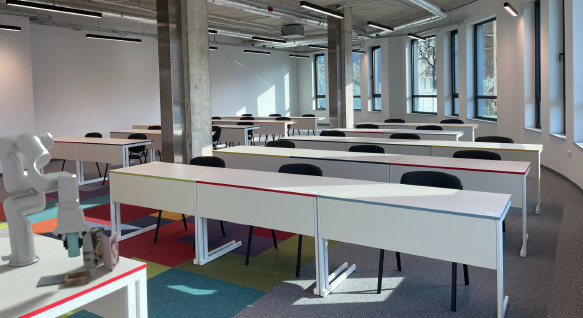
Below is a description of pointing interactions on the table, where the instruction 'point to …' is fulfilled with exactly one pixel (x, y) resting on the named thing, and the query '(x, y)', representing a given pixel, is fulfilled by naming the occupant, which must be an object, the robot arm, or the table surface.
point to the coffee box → (93, 247)
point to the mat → (51, 280)
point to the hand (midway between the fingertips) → (73, 247)
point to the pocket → (77, 278)
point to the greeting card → (110, 250)
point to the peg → (73, 244)
